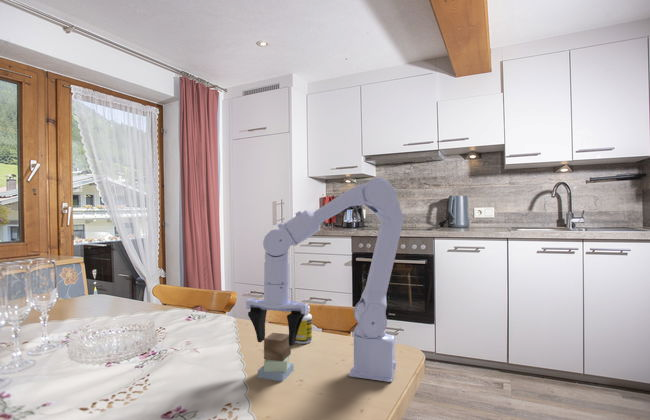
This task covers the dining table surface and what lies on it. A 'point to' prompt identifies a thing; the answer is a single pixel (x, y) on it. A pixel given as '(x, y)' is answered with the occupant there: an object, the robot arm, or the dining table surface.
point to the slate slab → (275, 374)
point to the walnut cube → (277, 347)
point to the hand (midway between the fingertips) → (276, 342)
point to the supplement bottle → (305, 329)
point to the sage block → (276, 365)
